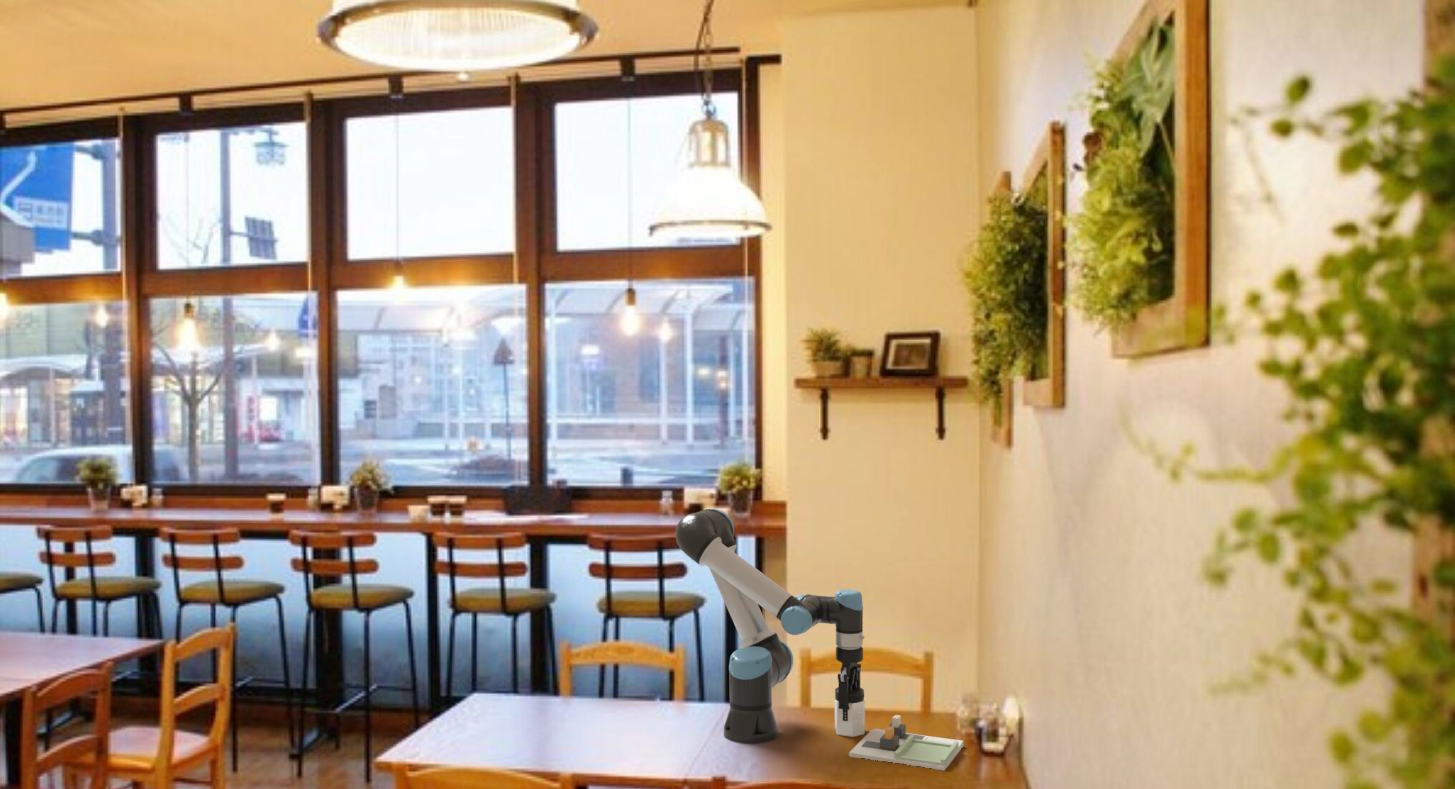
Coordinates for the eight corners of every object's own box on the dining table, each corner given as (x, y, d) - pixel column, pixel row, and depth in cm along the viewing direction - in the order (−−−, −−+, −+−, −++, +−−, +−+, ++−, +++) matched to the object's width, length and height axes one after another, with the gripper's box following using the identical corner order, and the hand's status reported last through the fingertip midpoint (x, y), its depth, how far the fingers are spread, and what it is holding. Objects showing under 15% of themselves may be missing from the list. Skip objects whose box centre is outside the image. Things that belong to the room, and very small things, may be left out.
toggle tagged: (880, 747, 282) (879, 729, 282) (884, 743, 286) (884, 724, 286) (894, 749, 281) (894, 731, 280) (899, 745, 284) (899, 726, 284)
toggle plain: (887, 735, 292) (887, 717, 292) (891, 731, 295) (891, 713, 295) (901, 737, 290) (901, 719, 290) (905, 733, 294) (905, 715, 294)
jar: (846, 739, 295) (846, 695, 294) (828, 731, 301) (828, 688, 301) (871, 732, 300) (871, 690, 299) (852, 725, 306) (852, 683, 306)
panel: (849, 758, 280) (848, 746, 280) (873, 733, 299) (873, 722, 299) (944, 772, 269) (944, 760, 269) (963, 746, 288) (963, 735, 288)
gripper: (852, 654, 291) (852, 740, 291) (871, 640, 306) (872, 721, 307) (826, 652, 294) (826, 737, 294) (846, 637, 310) (847, 718, 310)
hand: (849, 729), depth 300 cm, fingers closed on jar, 4 cm apart
